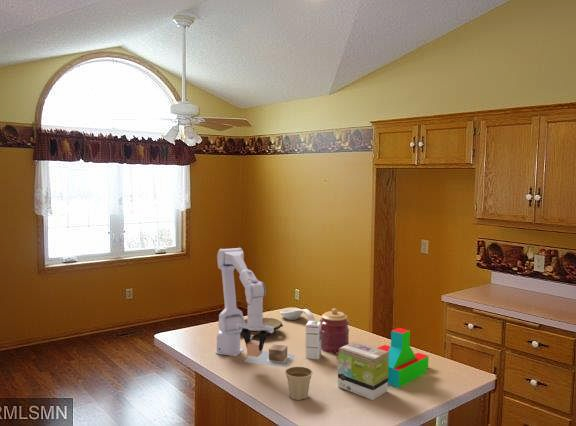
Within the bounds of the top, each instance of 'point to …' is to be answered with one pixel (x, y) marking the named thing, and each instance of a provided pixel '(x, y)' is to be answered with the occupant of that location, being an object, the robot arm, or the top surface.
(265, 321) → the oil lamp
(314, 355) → the syrup box
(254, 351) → the terracotta block
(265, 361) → the mat
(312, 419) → the top surface
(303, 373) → the flower pot
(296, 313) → the spoon rest
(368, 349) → the tea box
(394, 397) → the top surface
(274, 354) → the walnut block
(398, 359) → the building blocks toy
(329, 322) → the canister
